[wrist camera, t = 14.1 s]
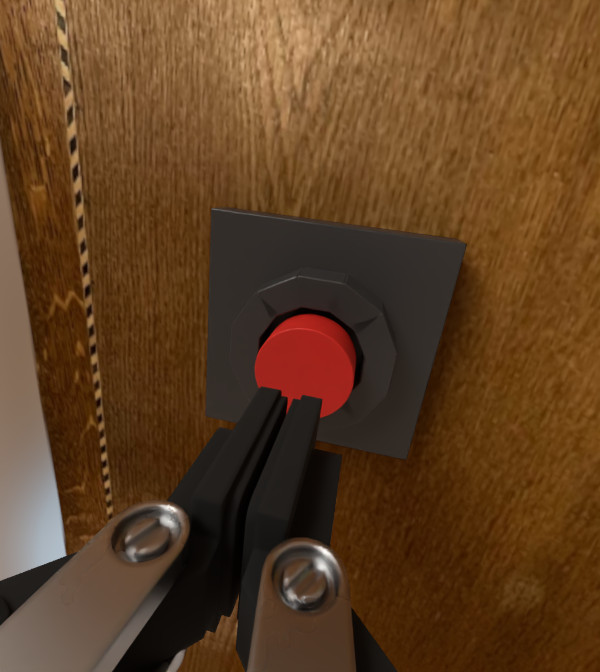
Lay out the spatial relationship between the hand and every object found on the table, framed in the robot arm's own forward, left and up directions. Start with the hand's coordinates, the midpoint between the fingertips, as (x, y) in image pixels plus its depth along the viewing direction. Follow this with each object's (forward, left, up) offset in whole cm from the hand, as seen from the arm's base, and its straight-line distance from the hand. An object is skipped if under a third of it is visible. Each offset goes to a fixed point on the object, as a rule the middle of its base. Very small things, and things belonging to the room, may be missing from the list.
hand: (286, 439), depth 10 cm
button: (0, 0, -5) cm, 5 cm away
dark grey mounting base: (0, 0, -8) cm, 8 cm away
